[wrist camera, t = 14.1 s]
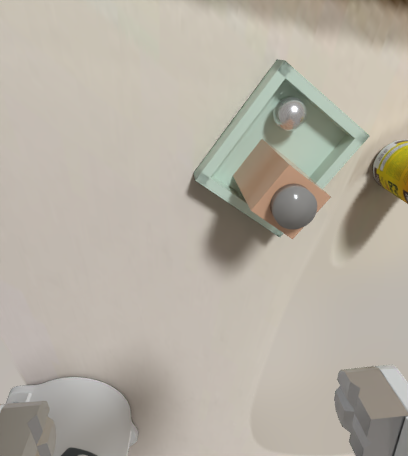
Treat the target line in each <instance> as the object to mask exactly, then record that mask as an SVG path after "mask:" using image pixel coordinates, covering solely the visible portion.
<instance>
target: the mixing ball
mask: <svg viewBox="0 0 408 456" xmlns="http://www.w3.org/2000/svg"><path fill="white" fill-rule="evenodd" d="M306 117H307V109H306V106H305V104H304V103H303V101H302V100H300V99H298V98H296V97H286V98H284V99H282V100H280V101H279V102H278V103H277V105H276V106H275V109H274V112H273V118H274V121H275V123H276V125H277V126H278V127H279V128H280V129H282V130H285V131H293V130H296V129H298V128H299V127H301V126H302V125H303V123H304V122H305V120H306Z"/></svg>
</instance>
